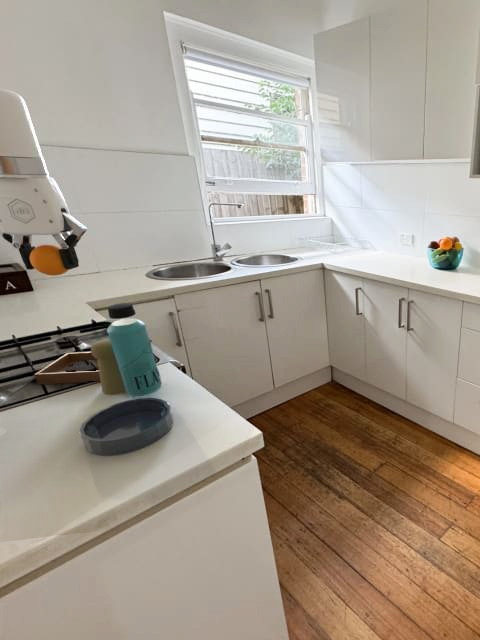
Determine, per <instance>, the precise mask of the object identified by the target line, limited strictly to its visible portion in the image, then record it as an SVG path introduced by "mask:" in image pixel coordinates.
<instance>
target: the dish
mask: <svg viewBox="0 0 480 640" xmlns="http://www.w3.org/2000/svg"><path fill="white" fill-rule="evenodd" d="M174 422H175V421H174V415H173V411H172V406H171V405H170V403H169V402H168V401H167V400H165V399H162V398H157V397H139V398H134V399H128V400H125V401H121V402H118V403H114V404H110V405H109V406H107V407H104V408H102V409H100V410H99V411H98V410H97V412H95V413H93V414H92V415H90V416H89V417H88V418H87V419H86V420H84V422H83V423H81V426H80V428H79V431H78V432H79V435H80V438H81V439H82V442H83V444H84V447H85V449H86V450H87V452H89V453H91V454H94V455H96V456H107V457H108V456H117V455H118V456H119V455H124V454H127V453H132V452H134V451H135V452H136V451H138V450H141V449H143V448H145V447H147V446H149V445H151V444H154V443H155V442H157V441H159V440H160V439H162V438H163V437H164V436H166V435H167V434H168V433H169V432H170V431H171V429H172V428H173V426H174Z"/></svg>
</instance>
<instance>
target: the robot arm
mask: <svg viewBox="0 0 480 640" xmlns="http://www.w3.org/2000/svg"><path fill="white" fill-rule="evenodd" d="M87 230H88V229H87V227H86V226H85V225H84V224H82V223H80V221H78V220H76V219H75V218H74V217H73V216H71V212H70V209H69V207H68V205H67V202H66V199H65V198H64V196H63V193H62V191H61V190H60V188H59V185H58V184H57V182H56V180H55V179H54V178H53V177H50V175H49V172H48V169H47V165H46V163H45V159H44V155H43V153H42V149H41V147H40V143H39V141H38V137H37V134H36V131H35V129H34V125H33V123H32V119H31V116H30V113H29V109H28V107H27V104H26V102H25V99H24V98H23V97H22V95H20V94H18V93H17V92H15V91H13V90H10V89H5V88H1V87H0V237H2V238H3V239H4V240H5V241H7V242H8V243H9V244H11V245H12V247H13V248H14V249H16V250H18V252H19V255H20V258H21V260H22V262H23V264H24V267H25V269H26V270H27V271H28V270H36V269H35V268H34V267H33V266H32V264H31V262H30V253H31V252H32V250H33V249H34V248H36V246H35V245H34V246H33V245H32V238H33V236H52V238H53V240H55V241H56V242H57V244H58V245H59V247H60V248H62V249H59V253H60V256H61V259H62V262H63V265H64V268H65V269H67V270H68V271H69V270H73V269H76V268H79V266H80V264H79V261H80V260H79V258H78V255H77V252H76V249H75V248H76V247H77V245H78V243H79V241H80V240H81V239H82V237H83V236H84V235H85V233H87ZM70 232H71V233H70Z"/></svg>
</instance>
